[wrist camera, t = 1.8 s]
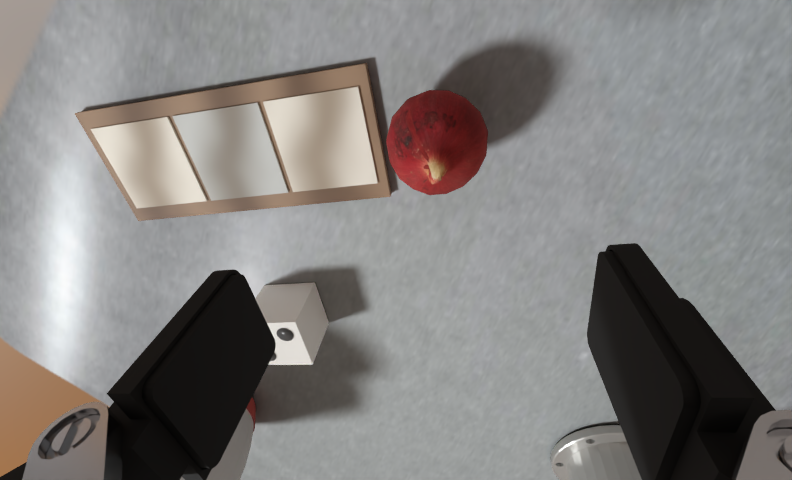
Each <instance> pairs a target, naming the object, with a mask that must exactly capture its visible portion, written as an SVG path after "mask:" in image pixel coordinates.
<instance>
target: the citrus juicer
mask: <svg viewBox="0 0 792 480" xmlns="http://www.w3.org/2000/svg"><path fill="white" fill-rule="evenodd" d="M255 413H256V406H255V402H254V399H253V398H251V400H250V402H249V404H248V406H247V408H246V410H245V412H244V414H243V416H242V418H241V420H240V422H239V424H238V426H237V428H236V430H235V432H234V434H233V436H232V438H231V440H230V442H229V444H228V446H227V448H226V450H225V452H224V454H223V456H222V458H221V460H220V462H219V463H218V465H217V466H216V467H214V468H212V470H211V472H210V473H209V475H208V477H207V479H206V480H240V478H241V475H242V473H243V470H244V468H245V465H246V461H247V457H248V454H249V450H250V447H251V441H252V435H253V431H254V428H255ZM180 480H185V479H184V478H183V477H181V479H180Z"/></svg>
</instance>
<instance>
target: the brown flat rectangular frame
mask: <svg viewBox="0 0 792 480" xmlns="http://www.w3.org/2000/svg"><path fill="white" fill-rule="evenodd" d="M75 115H76V117H77V118H78V120H79V122H80V123H81V125H82V127H83V128H84V130H85V132H86V134H87V135H88V137H89V139H90V140H91V142H92V144H93V145H94V147H95V149H96V150H97V152H98V154H99V155H100V157H101V159H102V160H103V162H104V164H105V165H106V167H107V169H108V171H109V172H110V174H111V176H112V177H113V179H114V181H115V182H116V184H117V186H118V187H119V189H120V191H121V192H122V194H123V196H124V197H125V199H126V201H127V203H128V204H129V206H130V208H131V209H132V211H133V213H134V214H135V216H136V218H137V219H138V221H143V220H153V219H164V218H174V217H184V216H195V215H205V214H215V213H226V212H236V211H246V210H257V209H267V208H277V207H287V206H298V205H308V204H318V203H329V202H339V201H349V200H360V199H370V198H380V197H390V196H391V188H390V182H389V177H388V172H387V166H386V161H385V156H384V150H383V145H382V140H381V134H380V129H379V124H378V118H377V113H376V108H375V102H374V97H373V92H372V86H371V81H370V76H369V70H368V65H367V63H362V64H356V65H350V66H344V67H338V68H333V69H327V70H321V71H315V72H309V73H303V74H298V75H292V76H286V77H280V78H274V79H268V80H263V81H257V82H251V83H245V84H239V85H233V86H227V87H222V88H216V89H210V90H204V91H198V92H192V93H187V94H181V95H175V96H169V97H163V98H157V99H151V100H146V101H140V102H134V103H128V104H122V105H116V106H111V107H105V108H99V109H93V110H87V111H81V112H78V113H75Z"/></svg>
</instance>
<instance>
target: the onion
mask: <svg viewBox="0 0 792 480" xmlns="http://www.w3.org/2000/svg"><path fill="white" fill-rule="evenodd" d="M487 137H488V130H487V128H486V125H485V123H484V120H483V118H482V115H481V113H480V111H478V110H477V109H476V108H475V107H474V106H473V105H472V104H471V103H470V102H469V101H468V100H467V99H466V98H464V97H462V96H460V95H458V94H455V93H453V92H451V91H447V90H428V91H426V92H423V93H421V94H419V95H416V96H414V97H411V98H409V99H408V100H406V102H405V103H404V104H403V105H402V106H401V107H400V109H399V110H398V111H397V112H396V113H395V114H394V115H393V117H392V120H391V124H390V128H389V131H388V135H387V140H386V144H387V149H388V155H389V160H390V163H391V165H392V167H393V169H394V170H395V172H396V174H397V175H398V177H399V179H401V180H402V181H403V182H405V183H406V184H407V185H409V186H410V187H411V188H413V189H415V190H417V191H420V192H423V193H425V194H428V195H435V194H447V193H449V192H451V191H454V190H456V189H458V188H461V187H463V186H464V185H465V184H466V183H467V182H468V181H469V180H470V179H471V178H472V177H474V176H475V175H476V174H477V172H478V170H479V168H480V166H481V164H482V163H483V161H484V159H485V157H486V151H487Z"/></svg>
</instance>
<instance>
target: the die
mask: <svg viewBox="0 0 792 480" xmlns="http://www.w3.org/2000/svg"><path fill="white" fill-rule="evenodd" d="M256 301H257V303H258V305H259V308H260V310H261V312H262V314H263V316H264V318H265V320H266V322H267V324H268V326H269V329H270V331H271V333H272V335H273V337H274V339H275V343H276V347H275V352H274V354H273V356H272V358H271V360H270V362H269V364H268V365H313V363H314V360H315V358H316V355H317V353H318V350H319V347H320V345H321V342H322V340H323V337H324V334H325V332H326V329H327V327H328V324H329V321H328V319H327V316H326V313H325V310H324V307H323V304H322V302H321V299H320V296H319V293H318V290H317V287H316V284H315V283H296V284H277V285H264V287H263V288H262V290H261V291H260V293H259V294H258V296H257V297H256Z"/></svg>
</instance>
